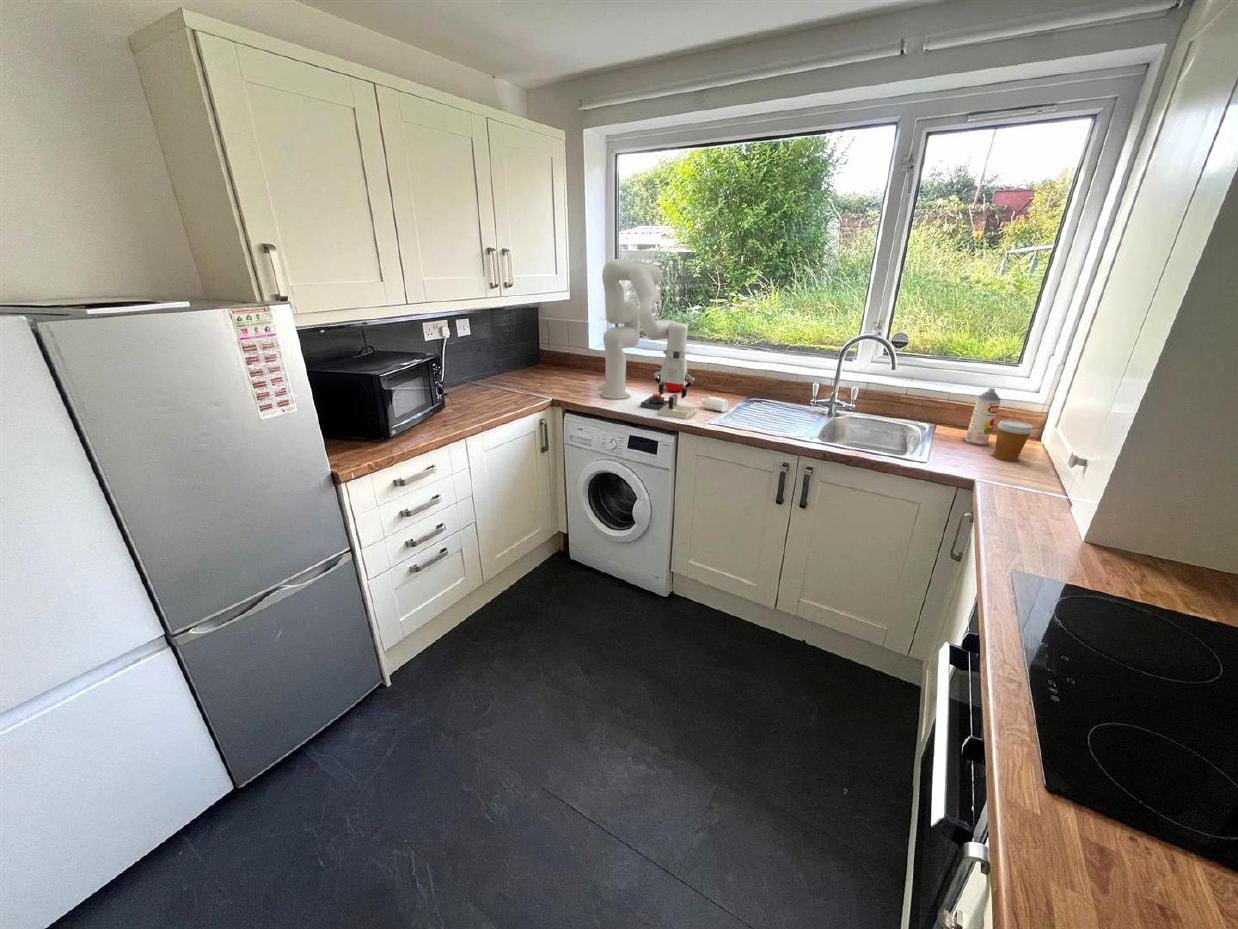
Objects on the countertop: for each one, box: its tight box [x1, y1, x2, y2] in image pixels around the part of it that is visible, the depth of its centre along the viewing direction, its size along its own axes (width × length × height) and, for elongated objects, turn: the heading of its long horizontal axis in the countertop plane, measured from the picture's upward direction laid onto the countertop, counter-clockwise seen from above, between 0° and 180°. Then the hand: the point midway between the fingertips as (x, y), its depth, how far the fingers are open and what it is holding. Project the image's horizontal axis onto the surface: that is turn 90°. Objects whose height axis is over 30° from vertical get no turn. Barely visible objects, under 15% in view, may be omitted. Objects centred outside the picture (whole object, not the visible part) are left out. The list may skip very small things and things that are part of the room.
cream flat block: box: [658, 404, 696, 420], centre depth 209 cm, size 13×10×3 cm
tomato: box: [664, 378, 688, 393], centre depth 247 cm, size 12×12×10 cm
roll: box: [699, 396, 729, 413], centre depth 216 cm, size 6×12×6 cm, turn 51°
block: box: [640, 395, 669, 411], centre depth 219 cm, size 11×9×4 cm
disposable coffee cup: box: [993, 419, 1034, 462], centre depth 165 cm, size 10×10×12 cm
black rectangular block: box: [668, 393, 679, 409], centre depth 208 cm, size 6×2×5 cm, turn 154°
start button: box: [652, 393, 662, 399], centre depth 218 cm, size 4×4×2 cm
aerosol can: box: [964, 387, 1001, 446], centre depth 179 cm, size 7×7×20 cm
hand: (672, 395), depth 207 cm, fingers open, 9 cm apart
